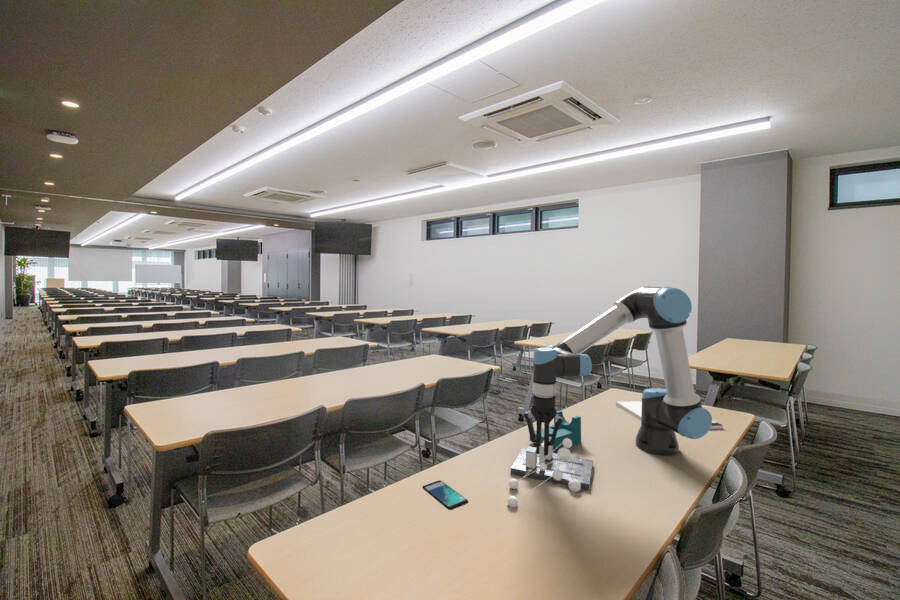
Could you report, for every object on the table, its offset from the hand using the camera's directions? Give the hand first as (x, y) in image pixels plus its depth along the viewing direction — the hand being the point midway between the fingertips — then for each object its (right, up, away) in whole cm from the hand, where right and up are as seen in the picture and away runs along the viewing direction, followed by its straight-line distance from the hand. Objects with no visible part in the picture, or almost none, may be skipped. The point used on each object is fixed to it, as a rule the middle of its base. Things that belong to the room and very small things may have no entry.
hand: (541, 463), depth 133 cm
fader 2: (+4, -1, +8) cm, 9 cm away
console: (+4, -3, +3) cm, 7 cm away
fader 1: (-3, -1, +2) cm, 4 cm away
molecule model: (-3, -5, -12) cm, 14 cm away
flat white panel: (+74, -2, +60) cm, 95 cm away
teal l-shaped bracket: (+11, -3, +26) cm, 28 cm away
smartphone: (-33, -4, -13) cm, 35 cm away
